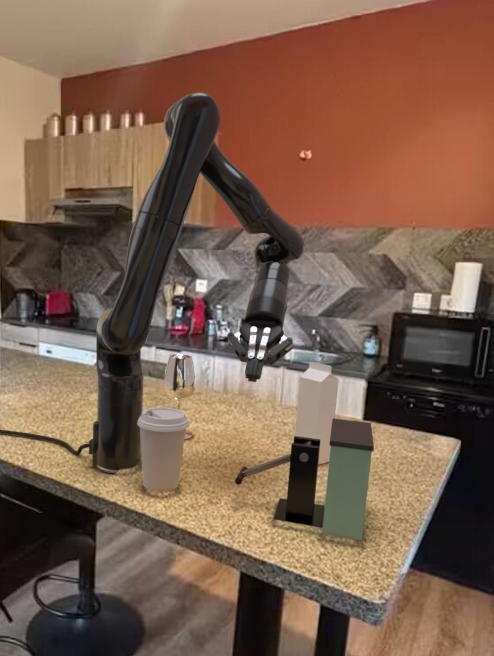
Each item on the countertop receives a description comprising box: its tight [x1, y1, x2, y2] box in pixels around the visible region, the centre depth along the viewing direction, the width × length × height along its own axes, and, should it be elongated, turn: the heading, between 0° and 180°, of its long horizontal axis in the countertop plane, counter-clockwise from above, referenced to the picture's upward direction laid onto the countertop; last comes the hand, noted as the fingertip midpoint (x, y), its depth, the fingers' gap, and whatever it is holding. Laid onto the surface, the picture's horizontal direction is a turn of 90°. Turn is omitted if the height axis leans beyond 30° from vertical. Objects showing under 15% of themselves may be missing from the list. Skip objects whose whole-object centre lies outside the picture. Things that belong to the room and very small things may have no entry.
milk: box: [294, 361, 340, 466], centre depth 122 cm, size 6×6×22 cm
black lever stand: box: [273, 435, 325, 529], centre depth 94 cm, size 8×9×14 cm
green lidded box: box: [321, 418, 375, 541], centre depth 91 cm, size 6×13×17 cm, turn 163°
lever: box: [234, 441, 313, 486], centre depth 95 cm, size 14×6×2 cm, turn 72°
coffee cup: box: [137, 407, 190, 492], centre depth 103 cm, size 10×10×15 cm
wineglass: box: [162, 353, 196, 440], centre depth 136 cm, size 8×8×20 cm
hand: (252, 379), depth 100 cm, fingers closed
